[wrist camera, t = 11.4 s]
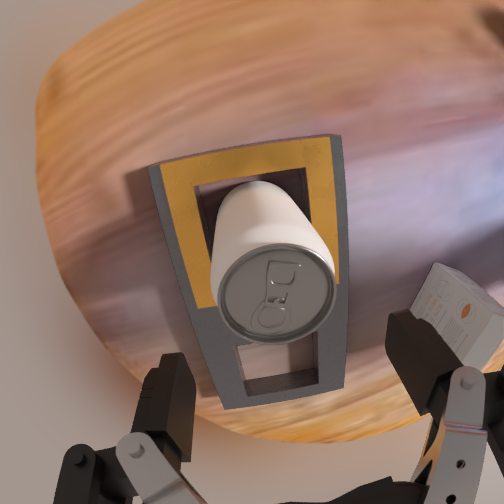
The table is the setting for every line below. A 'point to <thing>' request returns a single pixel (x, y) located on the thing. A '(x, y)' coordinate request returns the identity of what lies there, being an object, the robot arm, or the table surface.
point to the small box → (461, 314)
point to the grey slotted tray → (200, 252)
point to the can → (269, 267)
